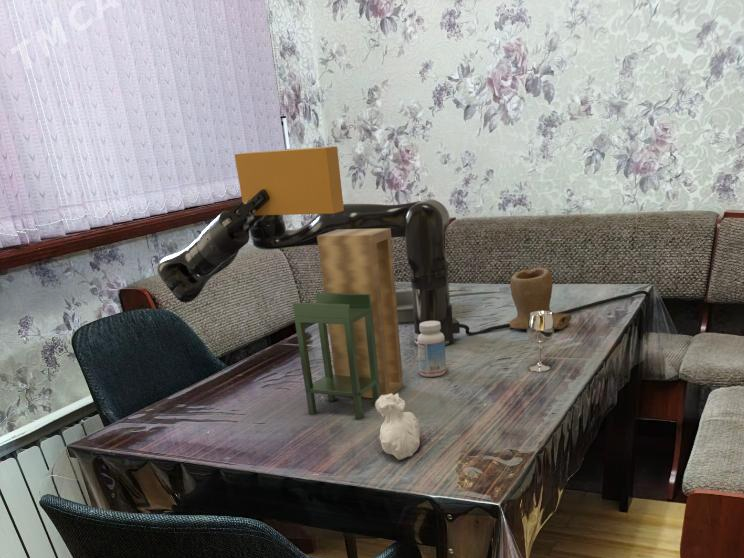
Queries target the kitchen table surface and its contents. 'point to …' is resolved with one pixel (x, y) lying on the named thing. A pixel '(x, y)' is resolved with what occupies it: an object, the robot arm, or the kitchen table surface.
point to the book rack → (329, 312)
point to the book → (292, 180)
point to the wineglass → (540, 333)
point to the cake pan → (404, 306)
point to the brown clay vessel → (533, 297)
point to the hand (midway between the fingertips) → (273, 192)
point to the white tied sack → (397, 427)
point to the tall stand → (375, 277)
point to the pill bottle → (431, 349)
